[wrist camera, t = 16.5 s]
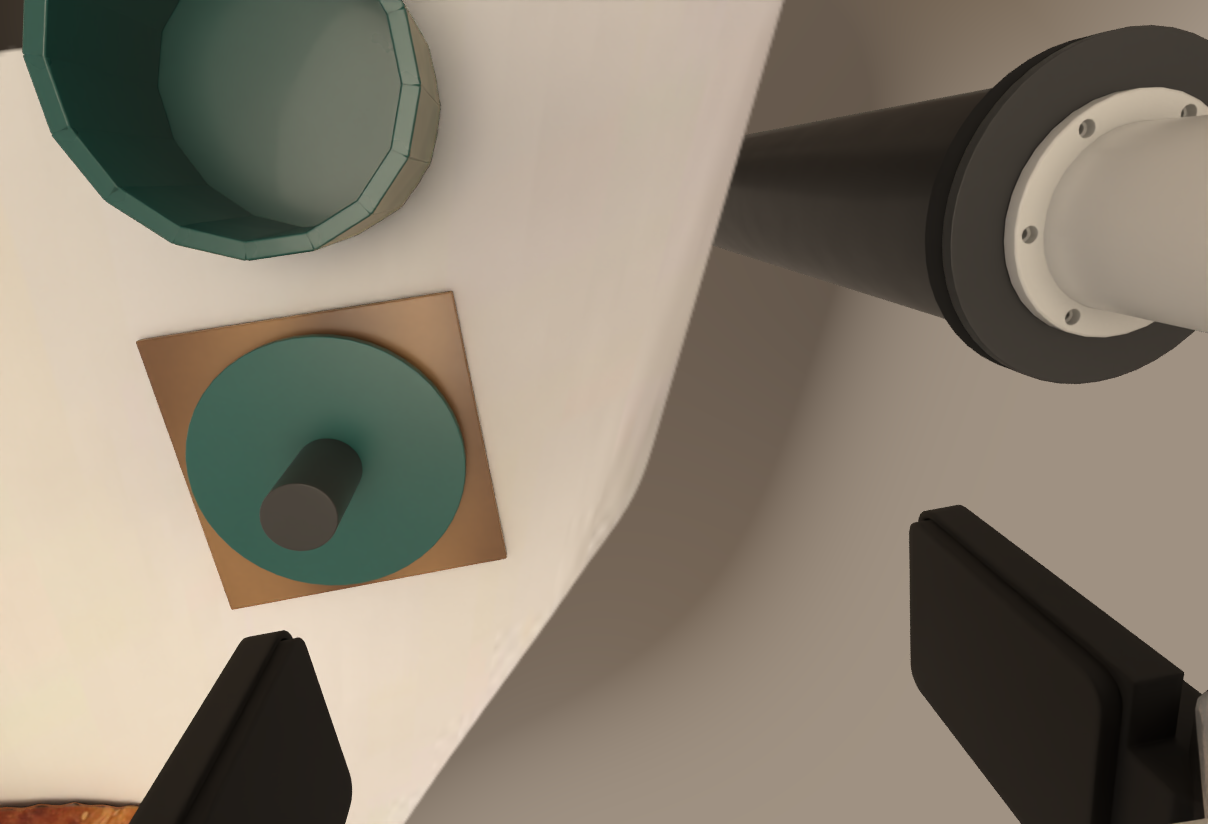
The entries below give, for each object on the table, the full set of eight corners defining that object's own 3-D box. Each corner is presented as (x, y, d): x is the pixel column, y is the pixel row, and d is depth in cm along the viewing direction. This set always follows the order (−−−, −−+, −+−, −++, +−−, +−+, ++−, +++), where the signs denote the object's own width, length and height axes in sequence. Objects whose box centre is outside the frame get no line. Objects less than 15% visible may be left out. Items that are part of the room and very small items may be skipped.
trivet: (452, 290, 36) (451, 292, 35) (506, 554, 40) (506, 558, 40) (140, 339, 34) (135, 341, 34) (234, 605, 39) (231, 610, 39)
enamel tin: (405, -79, 31) (370, -171, 23) (463, 218, 35) (450, 230, 27) (104, -44, 30) (-45, -128, 22) (199, 258, 34) (103, 282, 26)
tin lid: (437, 310, 35) (422, 340, 29) (488, 549, 40) (485, 620, 33) (156, 355, 34) (76, 396, 28) (240, 595, 38) (187, 678, 32)
